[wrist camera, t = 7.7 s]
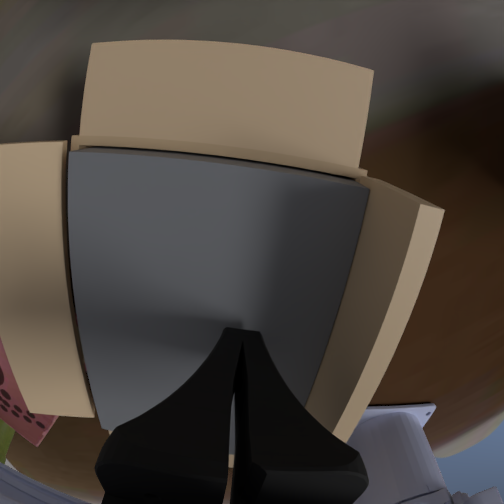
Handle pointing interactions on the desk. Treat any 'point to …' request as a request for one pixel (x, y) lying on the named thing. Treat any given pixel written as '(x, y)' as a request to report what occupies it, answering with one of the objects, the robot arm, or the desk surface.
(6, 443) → the plant pot
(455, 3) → the desk surface
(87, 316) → the carton
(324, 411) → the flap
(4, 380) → the book
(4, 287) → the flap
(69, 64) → the desk surface
